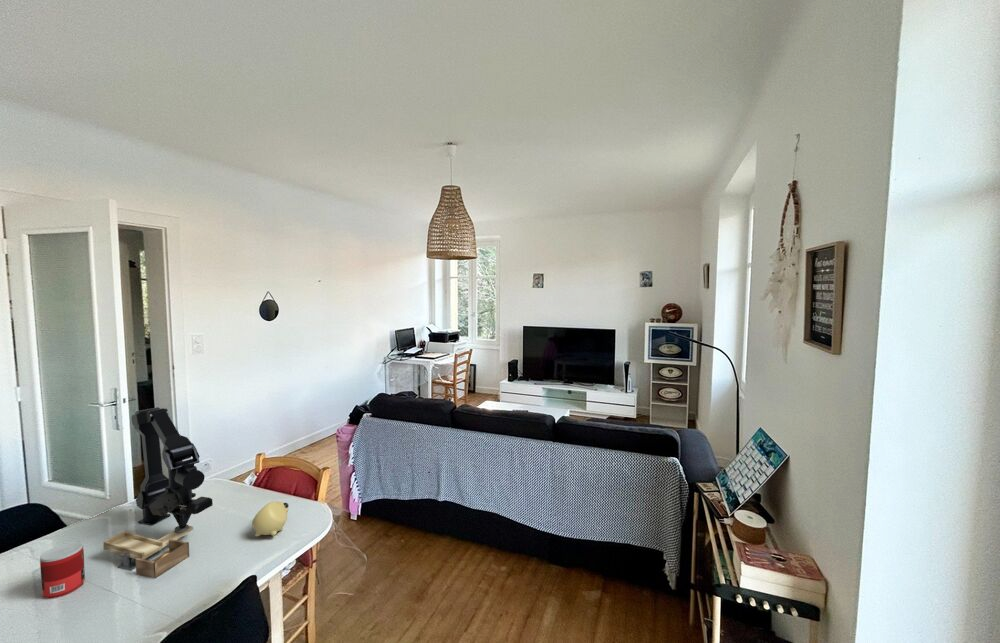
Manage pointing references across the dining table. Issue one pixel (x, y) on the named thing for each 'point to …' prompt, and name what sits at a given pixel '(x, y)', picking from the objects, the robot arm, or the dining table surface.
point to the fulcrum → (132, 561)
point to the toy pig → (270, 518)
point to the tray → (163, 560)
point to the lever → (141, 543)
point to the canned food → (62, 569)
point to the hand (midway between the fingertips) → (182, 528)
